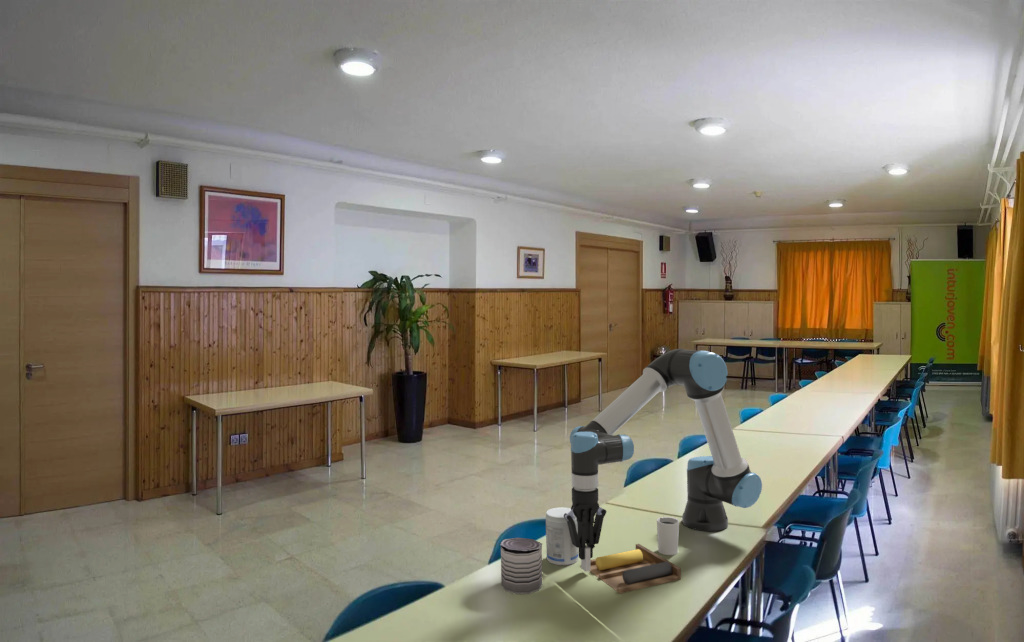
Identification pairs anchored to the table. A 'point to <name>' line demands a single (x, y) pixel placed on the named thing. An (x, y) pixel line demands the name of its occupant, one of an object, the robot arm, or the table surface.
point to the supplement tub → (559, 538)
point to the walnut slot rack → (649, 558)
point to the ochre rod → (619, 559)
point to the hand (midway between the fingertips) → (585, 569)
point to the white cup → (668, 535)
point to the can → (521, 565)
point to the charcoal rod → (647, 573)
